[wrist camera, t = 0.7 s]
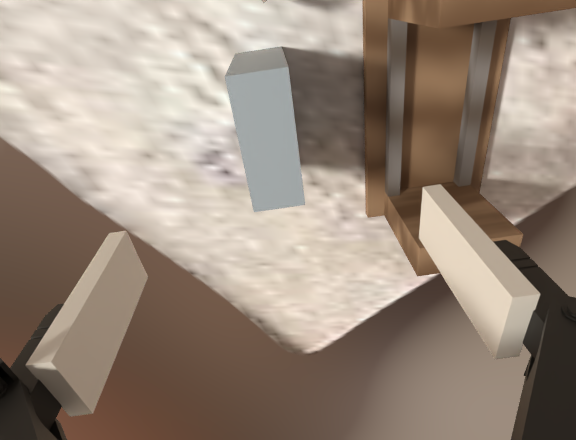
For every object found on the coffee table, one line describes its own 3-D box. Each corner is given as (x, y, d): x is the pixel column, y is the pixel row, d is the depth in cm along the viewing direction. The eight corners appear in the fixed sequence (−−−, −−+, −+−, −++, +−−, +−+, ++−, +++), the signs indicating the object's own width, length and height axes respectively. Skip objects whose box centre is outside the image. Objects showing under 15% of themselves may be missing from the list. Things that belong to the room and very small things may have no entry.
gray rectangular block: (235, 53, 31) (224, 76, 22) (281, 46, 31) (288, 66, 22) (256, 160, 36) (253, 212, 28) (295, 155, 36) (305, 204, 28)
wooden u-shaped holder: (362, -23, 28) (410, -30, 19) (514, -47, 28) (639, -66, 19) (365, 212, 40) (396, 279, 31) (473, 197, 40) (536, 259, 31)
